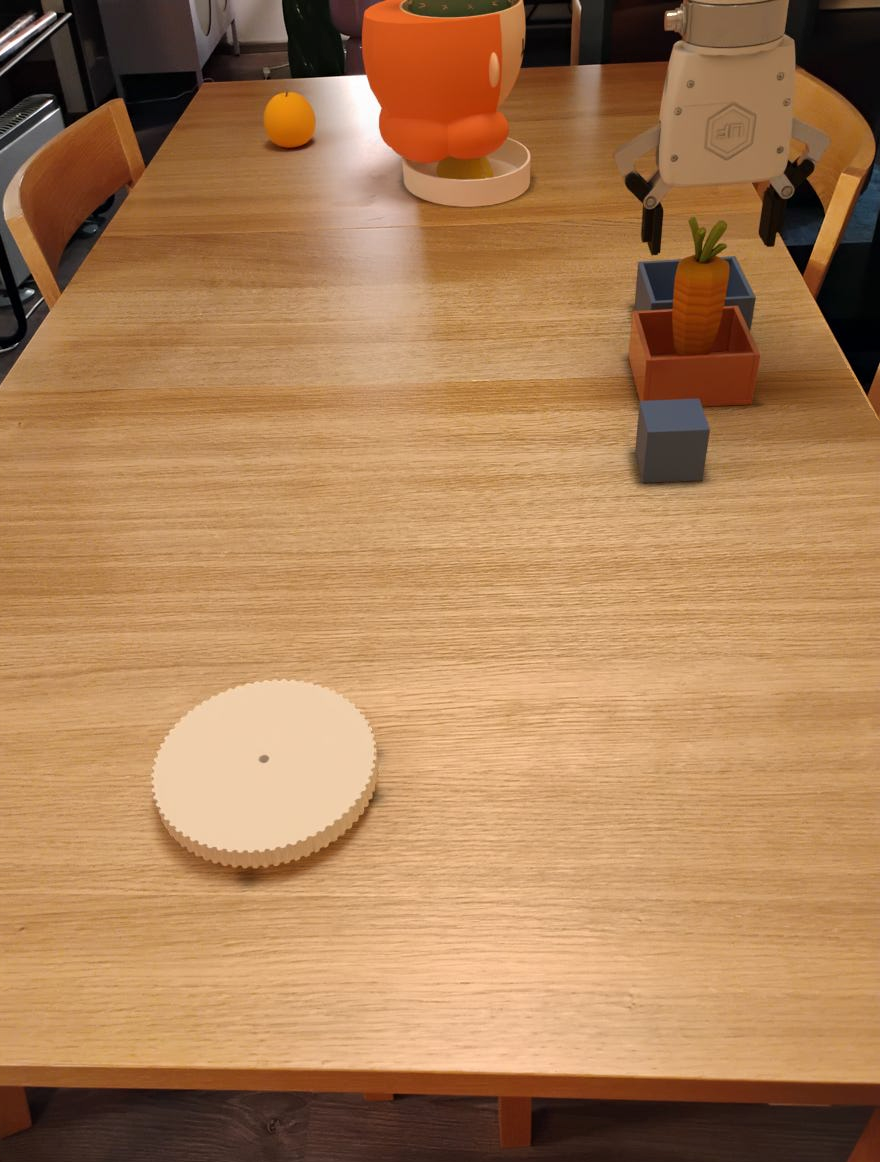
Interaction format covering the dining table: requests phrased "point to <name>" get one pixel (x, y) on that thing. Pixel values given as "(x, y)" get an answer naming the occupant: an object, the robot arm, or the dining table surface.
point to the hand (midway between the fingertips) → (709, 245)
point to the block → (671, 440)
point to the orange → (289, 120)
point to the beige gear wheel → (265, 773)
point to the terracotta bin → (693, 361)
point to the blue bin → (660, 280)
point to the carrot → (700, 293)
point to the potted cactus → (449, 95)
